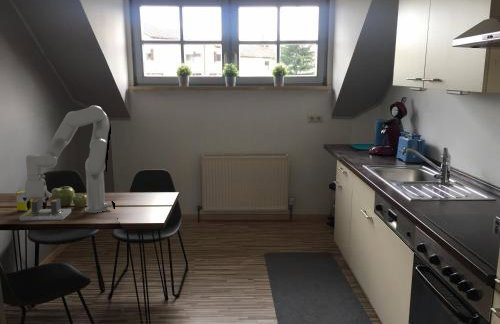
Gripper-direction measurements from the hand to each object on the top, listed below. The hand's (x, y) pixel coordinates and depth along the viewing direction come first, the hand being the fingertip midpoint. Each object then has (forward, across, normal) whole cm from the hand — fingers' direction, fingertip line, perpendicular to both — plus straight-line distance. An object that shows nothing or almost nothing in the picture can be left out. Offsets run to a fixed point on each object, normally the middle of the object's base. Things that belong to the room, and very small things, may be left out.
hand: (37, 208), depth 237 cm
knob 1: (+2, 0, 0) cm, 2 cm away
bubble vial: (+2, -6, +4) cm, 7 cm away
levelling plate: (+4, -5, +1) cm, 6 cm away
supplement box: (+4, +11, -12) cm, 17 cm away
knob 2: (+2, -10, 0) cm, 10 cm away
